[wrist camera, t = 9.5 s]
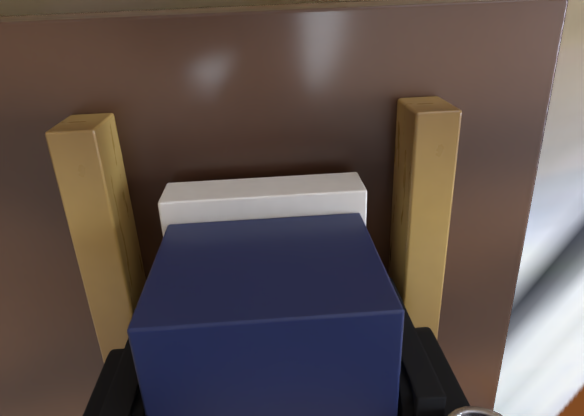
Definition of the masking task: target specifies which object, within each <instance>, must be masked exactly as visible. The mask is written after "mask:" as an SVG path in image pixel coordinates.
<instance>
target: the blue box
mask: <svg viewBox="0 0 584 416" xmlns="http://www.w3.org/2000/svg"><path fill="white" fill-rule="evenodd" d="M158 209H159V215H160V221H161V227H162V233H163V239H162V242H161V244H160V247H159V249H158V252H157V254H156V257H155V260H154V262H153V265H152V267H151V270H150V272H149V275H148V277H147V280H146V283H145V285H144V288H143V290H142V293H141V295H140V298H139V301H138V303H137V306H136V308H135V311H134V313H133V316H132V318H131V321H130V324H129V326H128V329H127V334H128V339H129V343H130V348H131V352H132V356H133V361H134V365H135V370H136V374H137V379H138V383H139V388H140V392H141V397H142V401H143V406H144V410H145V415H146V416H397V412H398V398H399V384H400V370H401V356H402V341H403V327H404V313H405V311H404V309H403V307H402V305H401V303H400V300H399V298H398V296H397V294H396V292H395V289H394V287H393V285H392V283H391V281H390V278H389V276H388V274H387V272H386V270H385V267H384V265H383V263H382V261H381V259H380V256H379V254H378V252H377V250H376V248H375V245H374V243H373V241H372V239H371V237H370V234H369V232H368V230H367V228H366V217H367V190H366V188H365V186H364V184H363V182H362V181H361V179H360V177H359V175H358V173H357V172H349V173H331V174H314V175H297V176H280V177H262V178H245V179H228V180H211V181H193V182H176V183H167V185H166V187H165V189H164V191H163V193H162V195H161V197H160V199H159V201H158Z"/></svg>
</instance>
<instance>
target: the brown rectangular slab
mask: <svg viewBox="0 0 584 416" xmlns="http://www.w3.org/2000/svg"><path fill="white" fill-rule="evenodd" d="M567 5H568V0H368V1H345V2H321V3H298V4H275V5H252V6H229V7H206V8H183V9H160V10H137V11H113V12H90V13H67V14H44V15H21V16H0V416H83V414H84V411H85V409H86V406H87V404H88V402H89V399H90V397H91V394H92V392H93V390H94V387H95V385H96V382H97V380H98V378H99V375H100V373H101V370H102V368H103V365H104V363H105V361H106V358H107V356H108V354H109V352H110V351H111V350H113V349H124V348H125V345H126V342H127V340H128V334H127V329H128V326H129V324H130V321H131V318H132V316H133V313H134V311H135V308H136V306H137V303H138V301H139V298H140V295H141V293H142V290H143V288H144V285H145V283H146V280H147V277H148V275H149V272H150V270H151V267H152V265H153V262H154V260H155V257H156V254H157V252H158V249H159V247H160V244H161V242H162V239H163V233H162V227H161V221H160V215H159V209H158V201H159V199H160V197H161V195H162V193H163V191H164V189H165V187H166V185H167V183H176V182H193V181H211V180H228V179H245V178H262V177H280V176H297V175H314V174H331V173H349V172H357V173H358V175H359V177H360V179H361V181H362V182H363V184H364V186H365V188H366V190H367V217H366V228H367V230H368V232H369V234H370V237H371V239H372V241H373V243H374V245H375V248H376V250H377V252H378V254H379V256H380V259H381V261H382V263H383V265H384V267H385V270H386V272H387V274H388V276H389V278H392V280H393V282H394V284H395V286H396V288H397V290H398V292H399V295H400V297H401V299H402V301H403V303H404V305H405V308H406V310H407V312H408V314H409V316H410V318H411V321H412V323H413V325H414V327H415V328H417V327H429V328H430V329H431V330H432V332H433V333H434V335H435V337H436V339H437V341H438V343H439V345H440V347H441V349H442V351H443V353H444V355H445V357H446V359H447V361H448V363H449V365H450V367H451V369H452V371H453V373H454V375H455V377H456V379H457V381H458V383H459V385H460V387H461V388H462V390H463V392H464V394H465V396H466V398H467V400H468V402H469V404H470V406H478V407H483V408H488V409H490V410H492V411H493V408H494V402H495V397H496V392H497V386H498V381H499V375H500V370H501V364H502V359H503V354H504V348H505V343H506V337H507V332H508V326H509V321H510V315H511V310H512V305H513V299H514V294H515V288H516V283H517V277H518V272H519V266H520V261H521V256H522V250H523V245H524V239H525V234H526V228H527V223H528V218H529V212H530V207H531V201H532V196H533V190H534V185H535V179H536V174H537V169H538V163H539V158H540V152H541V147H542V141H543V136H544V130H545V125H546V120H547V114H548V109H549V103H550V98H551V92H552V87H553V82H554V76H555V71H556V65H557V60H558V54H559V49H560V43H561V38H562V33H563V27H564V22H565V16H566V11H567Z"/></svg>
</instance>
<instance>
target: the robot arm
mask: <svg viewBox="0 0 584 416" xmlns="http://www.w3.org/2000/svg"><path fill="white" fill-rule="evenodd" d="M390 281H391V283H392V285H393V287H394V289H395V292H396V294H397V296H398V298H399V300H400V303H401V305H402V307H403V309H404V311H405V313H404V327H403V341H402V356H401V370H400V384H399V398H398V412H397V416H502V415H501V414H499V413H497V412H495V411H492V410H490V409H488V408H483V407H478V406H470V404H469V402H468V400H467V398H466V396H465V394H464V392H463V390H462V388H461V387H460V385H459V383H458V381H457V379H456V377H455V375H454V373H453V371H452V369H451V367H450V365H449V363H448V361H447V359H446V357H445V355H444V353H443V351H442V349H441V347H440V345H439V343H438V341H437V339H436V337H435V335H434V333H433V332H432V330H431V329H430V328H429V327H417V328H415V327H414V325H413V323H412V321H411V318H410V316H409V314H408V312H407V310H406V308H405V305H404V303H403V301H402V299H401V297H400V295H399V292H398V290H397V288H396V286H395V284H394V282H393V280H392V278H390ZM83 416H146V415H145V410H144V406H143V401H142V397H141V392H140V388H139V383H138V379H137V374H136V370H135V365H134V361H133V356H132V352H131V348H130V343H129V339H128V340H127V342H126V345H125V348H124V349H113V350H111V351H110V352H109V354H108V356H107V358H106V361H105V363H104V365H103V368H102V370H101V373H100V375H99V378H98V380H97V382H96V385H95V387H94V390H93V392H92V394H91V397H90V399H89V402H88V404H87V406H86V409H85V411H84V414H83Z"/></svg>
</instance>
